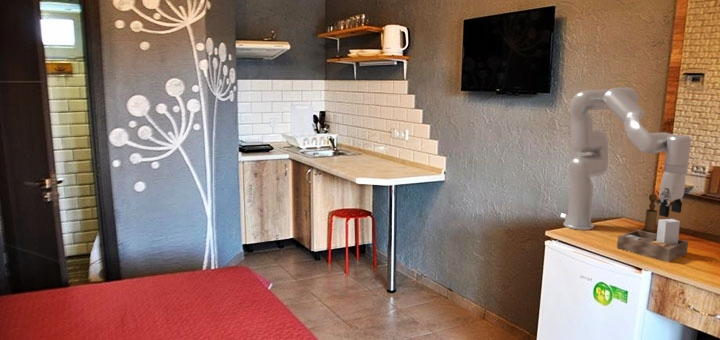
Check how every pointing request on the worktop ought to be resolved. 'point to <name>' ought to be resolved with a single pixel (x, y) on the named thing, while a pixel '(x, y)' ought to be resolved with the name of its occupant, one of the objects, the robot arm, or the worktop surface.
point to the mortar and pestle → (651, 216)
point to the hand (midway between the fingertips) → (669, 214)
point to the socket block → (651, 246)
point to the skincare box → (668, 231)
